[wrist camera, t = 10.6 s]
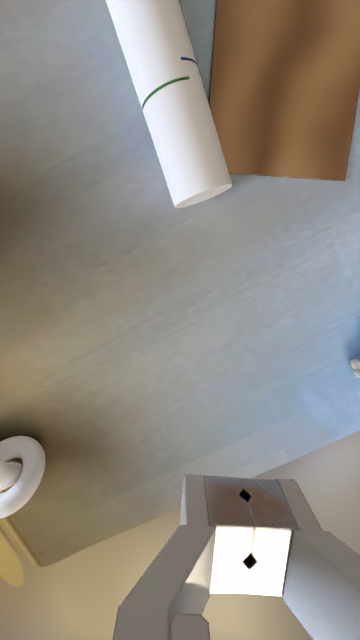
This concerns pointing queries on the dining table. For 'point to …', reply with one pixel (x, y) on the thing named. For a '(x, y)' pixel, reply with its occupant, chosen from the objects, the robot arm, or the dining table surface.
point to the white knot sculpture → (19, 472)
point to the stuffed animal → (356, 366)
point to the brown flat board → (286, 86)
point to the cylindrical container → (172, 97)
